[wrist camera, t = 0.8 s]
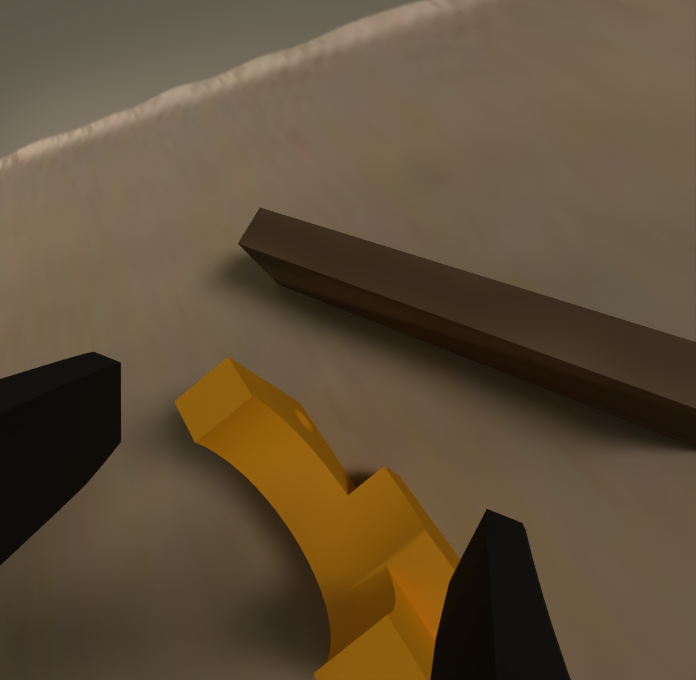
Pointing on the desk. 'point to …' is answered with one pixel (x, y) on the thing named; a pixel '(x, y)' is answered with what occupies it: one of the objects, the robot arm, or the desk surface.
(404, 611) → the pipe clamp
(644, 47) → the desk surface
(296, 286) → the rail
